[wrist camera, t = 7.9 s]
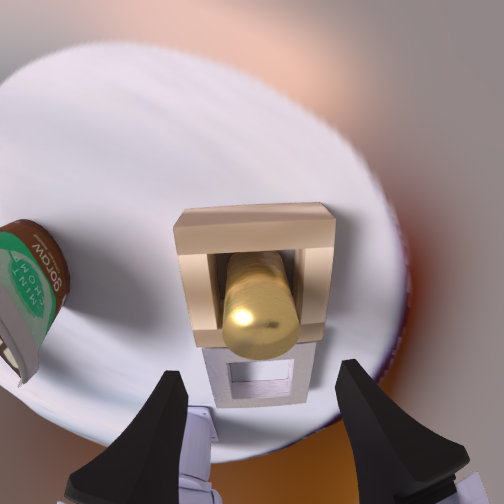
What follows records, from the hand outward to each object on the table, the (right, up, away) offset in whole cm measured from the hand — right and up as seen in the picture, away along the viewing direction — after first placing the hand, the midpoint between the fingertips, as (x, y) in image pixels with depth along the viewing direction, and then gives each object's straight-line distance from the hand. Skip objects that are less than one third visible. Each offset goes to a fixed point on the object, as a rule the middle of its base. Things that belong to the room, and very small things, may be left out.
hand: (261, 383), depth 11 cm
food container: (-18, +6, +8) cm, 21 cm away
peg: (0, +5, +9) cm, 10 cm away
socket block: (0, -5, +13) cm, 14 cm away
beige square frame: (0, +5, +9) cm, 10 cm away
